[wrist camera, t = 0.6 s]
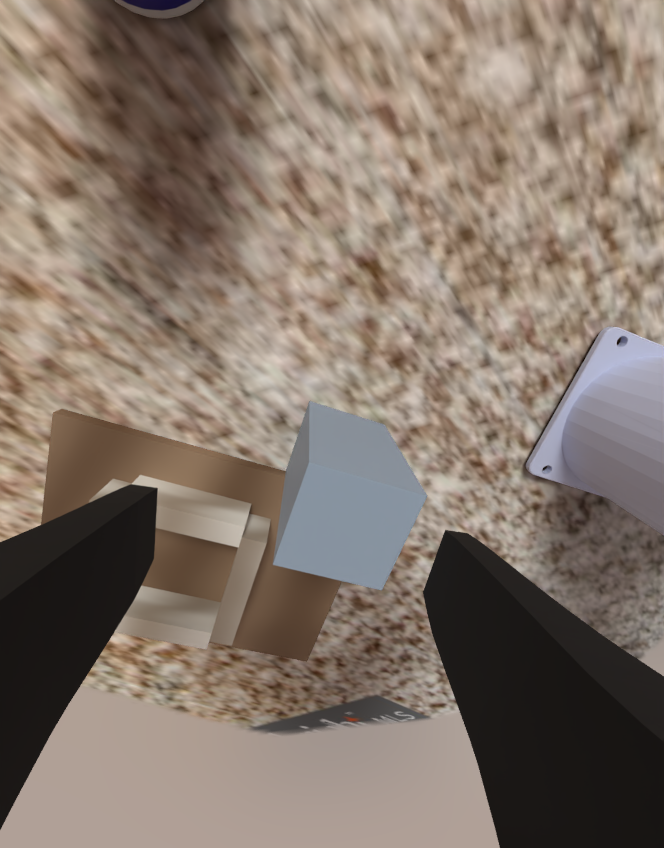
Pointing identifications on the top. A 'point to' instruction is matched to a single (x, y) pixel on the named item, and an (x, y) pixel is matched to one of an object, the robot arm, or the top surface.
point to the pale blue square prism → (345, 500)
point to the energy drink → (160, 7)
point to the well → (194, 538)
